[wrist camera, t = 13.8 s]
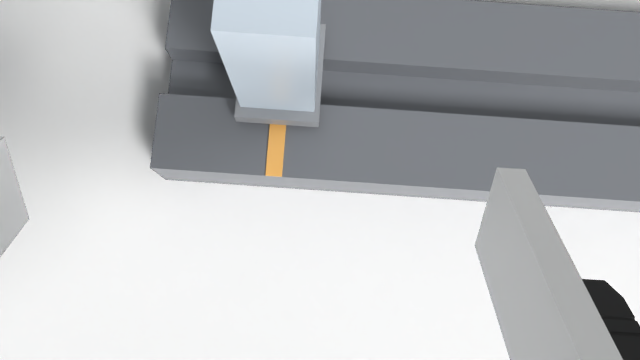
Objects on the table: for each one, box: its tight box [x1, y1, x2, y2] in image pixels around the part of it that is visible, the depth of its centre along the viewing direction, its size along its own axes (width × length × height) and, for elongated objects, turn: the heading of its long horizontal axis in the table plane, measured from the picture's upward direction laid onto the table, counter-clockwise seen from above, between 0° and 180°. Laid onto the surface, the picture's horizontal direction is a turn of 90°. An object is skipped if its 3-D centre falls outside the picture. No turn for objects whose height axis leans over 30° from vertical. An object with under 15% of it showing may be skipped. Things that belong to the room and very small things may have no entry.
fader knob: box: [210, 0, 326, 127], centre depth 24 cm, size 4×5×10 cm
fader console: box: [150, 0, 640, 212], centre depth 29 cm, size 28×10×3 cm, turn 86°
